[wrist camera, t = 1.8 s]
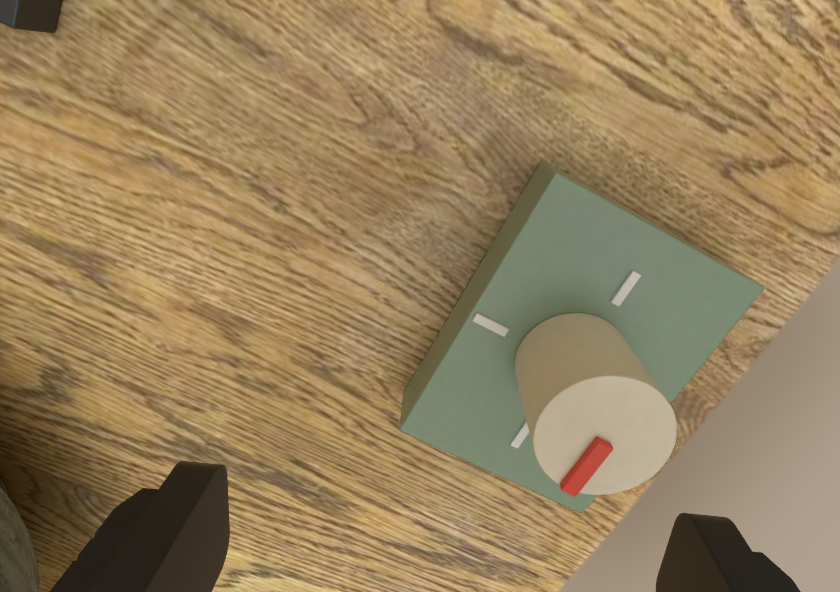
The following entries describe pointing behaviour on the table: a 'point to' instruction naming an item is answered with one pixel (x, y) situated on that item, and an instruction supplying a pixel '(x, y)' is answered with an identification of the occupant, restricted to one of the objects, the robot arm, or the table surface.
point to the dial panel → (561, 294)
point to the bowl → (15, 550)
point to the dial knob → (591, 406)
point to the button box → (30, 14)
